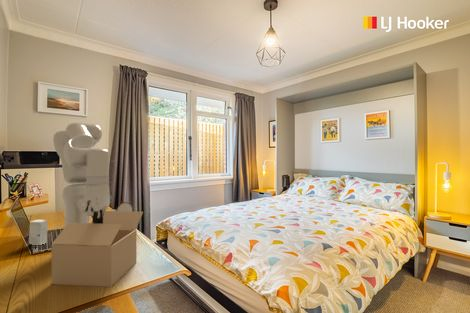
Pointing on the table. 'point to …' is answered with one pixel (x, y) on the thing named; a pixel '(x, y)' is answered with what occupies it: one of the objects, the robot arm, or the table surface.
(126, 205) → the magnifying glass
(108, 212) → the back flap
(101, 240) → the front flap
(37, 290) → the table surface
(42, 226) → the skincare box
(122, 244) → the carton
